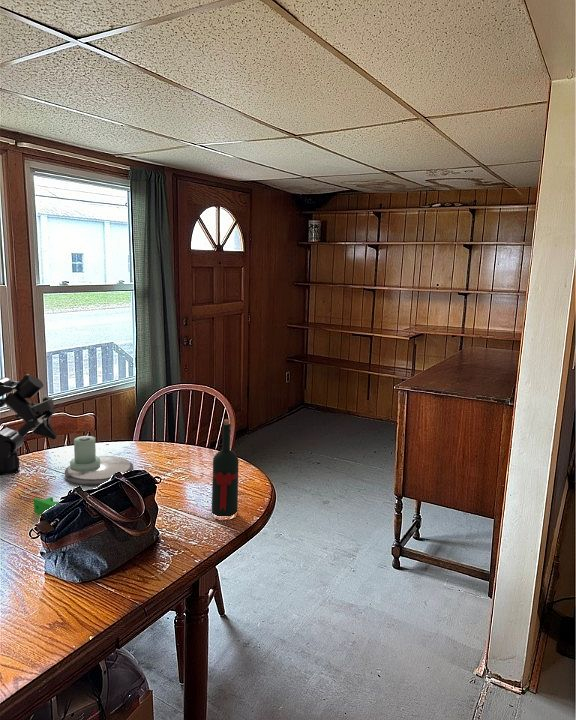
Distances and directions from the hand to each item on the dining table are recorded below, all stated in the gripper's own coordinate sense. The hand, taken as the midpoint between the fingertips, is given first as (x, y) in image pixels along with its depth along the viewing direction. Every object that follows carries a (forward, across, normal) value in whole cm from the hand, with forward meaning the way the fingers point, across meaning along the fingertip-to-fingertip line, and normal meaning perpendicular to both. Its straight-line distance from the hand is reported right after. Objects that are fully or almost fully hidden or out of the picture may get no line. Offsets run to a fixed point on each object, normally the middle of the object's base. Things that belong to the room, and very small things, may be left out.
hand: (55, 438), depth 180 cm
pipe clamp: (+17, -32, +1) cm, 36 cm away
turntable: (+20, 0, -2) cm, 20 cm away
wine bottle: (+52, -32, -35) cm, 70 cm away
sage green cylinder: (+14, 0, 0) cm, 14 cm away
